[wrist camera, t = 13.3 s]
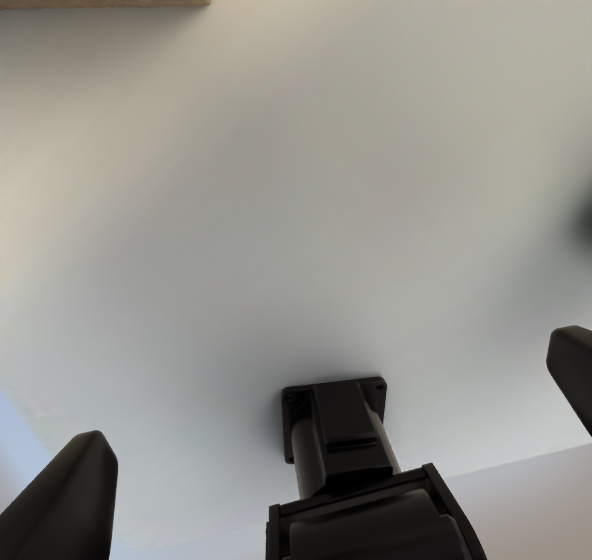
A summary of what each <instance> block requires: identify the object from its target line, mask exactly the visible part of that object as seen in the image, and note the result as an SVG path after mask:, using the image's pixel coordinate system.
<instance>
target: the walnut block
mask: <svg viewBox="0 0 592 560" xmlns="http://www.w3.org/2000/svg"><path fill="white" fill-rule="evenodd" d="M210 4H211V0H0V9H29V8H86V7H142V6H198V5H210Z"/></svg>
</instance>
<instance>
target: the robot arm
mask: <svg viewBox="0 0 592 560" xmlns="http://www.w3.org/2000/svg"><path fill="white" fill-rule="evenodd" d="M546 363H547V368H548V370H549V372H550V374H551V376H552V377H553V379H554V380H555V382H556V383H557V385H558V387H559V388H560V390H561V391H562V393H563V394H564V396H565V397H566V399H567V400H568V402H569V404H570V405H571V407H572V408H573V410H574V411H575V413H576V414H577V416H578V417H579V419H580V420H581V422H582V424H583V425H584V427H585V428H586V430H587V431H588V433H589V434H590V435H591V437H592V331H591V330H588V329H585V328H582V327H580V326H575V325H572V326H567V327H562V328H558V329H555V330H554V331H553V332H552V333H551V336H550V342H549V347H548V353H547V359H546ZM379 384H380V385H379ZM377 385H379V386H377ZM386 391H387V384H386V382H385V380H384V379H383V378H382V377H372V378H363V379H355V380H346V381H337V382H328V383H319V384H311V385H302V386H293V387H287V388H285V389H283V390H282V392H281V405H282V422H283V439H284V456H285V461H286V463H287V464H295V469H296V475H297V482H298V488H299V495H300V500H298V501H294V502H290V503H287V504H283V505H280V504H276V505H272V506H269V522H267V523H266V526H267V527H266V560H487V558H486V555H485V553H484V550H483V548H482V546H481V544H480V541H479V539H478V537H477V535H476V533H475V531H474V529H473V527H472V526H471V524H470V522H469V521H468V519H467V517H466V516H465V514H464V512H463V511H462V509H461V508H460V506H459V505H458V503H457V501H456V500H455V498H454V497H453V495H452V493H451V492H450V490H449V489H448V487H447V486H446V484H445V482H444V481H443V479H442V477H441V476H440V474H439V473H438V471H437V470H436V468H435V466H434V465H433V463H428V464H424V465H422V467H420V468H417V469H413V470H409V471H406V472H401V470H400V467H399V465H398V462H397V460H396V457H395V455H394V452H393V450H392V447H391V445H390V442H389V440H388V437H387V435H386V432H385V430H384V427H383V419H384V410H385V401H386ZM287 395H292V396H287ZM117 477H118V461H117V458H116V455H115V454H114V452H113V450H112V448H111V447H110V445H109V443H108V442H107V440H106V438H105V436H104V435H103V433H102V432H100V431H98V430H94V431H90V432H85V433H81V434H78V435H76V436H75V437H74V438H72V440H71V441H70V442H69V443H68V444H67V445H66V446H65V447H64V448H63V449H62V450H61V451H60V452H59V453H58V454H57V455H56V456H55V457H54V459H53V460H52V461H51V462H50V463H49V464H48V465H47V466H46V467H45V468H44V469H43V470H42V471H41V472H40V473H39V474H38V475H37V477H36V478H35V479H34V480H33V481H32V482H31V483H30V484H29V485H28V486H27V487H26V488H25V489H24V490H23V491H22V492H21V494H20V495H19V496H18V497H17V498H16V499H15V500H14V501H13V502H12V503H11V504H10V505H9V506H8V507H7V508H6V509H5V510H4V512H2V514H1V515H0V560H109V555H110V548H111V540H112V530H113V519H114V509H115V498H116V487H117Z"/></svg>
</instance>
